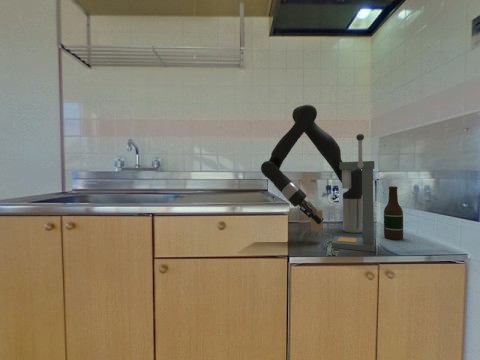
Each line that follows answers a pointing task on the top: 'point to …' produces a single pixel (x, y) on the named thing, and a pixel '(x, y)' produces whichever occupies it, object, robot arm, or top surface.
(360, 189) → the robot arm
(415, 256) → the top surface
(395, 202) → the beer bottle
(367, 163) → the press
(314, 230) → the block
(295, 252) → the top surface
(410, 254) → the top surface
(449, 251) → the top surface
